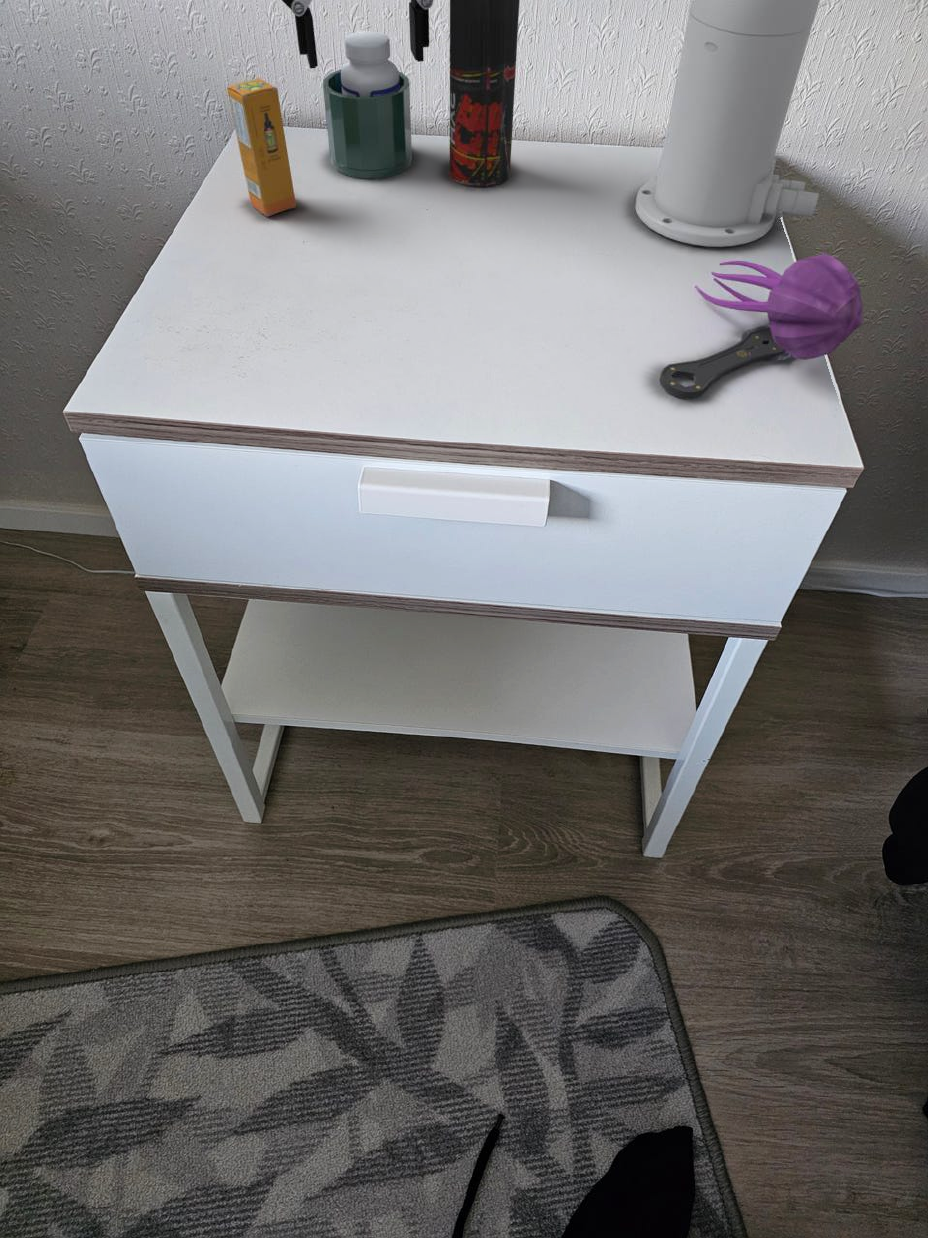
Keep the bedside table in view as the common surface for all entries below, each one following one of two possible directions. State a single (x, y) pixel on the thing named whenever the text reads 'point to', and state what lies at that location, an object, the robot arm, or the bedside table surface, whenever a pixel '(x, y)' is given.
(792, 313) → the jellyfish
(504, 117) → the deodorant
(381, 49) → the pill bottle
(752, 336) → the hex hole wrench
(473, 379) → the bedside table surface
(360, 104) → the cup
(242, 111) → the supplement box
